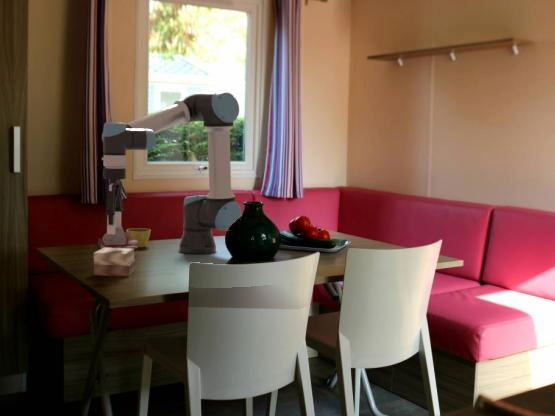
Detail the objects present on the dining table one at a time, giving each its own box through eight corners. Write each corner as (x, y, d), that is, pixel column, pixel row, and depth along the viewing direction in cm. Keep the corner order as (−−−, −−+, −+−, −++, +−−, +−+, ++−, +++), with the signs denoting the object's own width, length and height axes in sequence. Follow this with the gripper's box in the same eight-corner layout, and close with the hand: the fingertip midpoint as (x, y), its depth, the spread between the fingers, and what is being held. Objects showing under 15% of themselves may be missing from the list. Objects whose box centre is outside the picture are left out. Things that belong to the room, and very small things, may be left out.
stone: (100, 245, 248) (100, 228, 247) (107, 241, 258) (107, 225, 257) (124, 246, 248) (124, 229, 247) (130, 241, 258) (130, 225, 257)
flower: (145, 251, 280) (140, 226, 280) (108, 258, 272) (103, 233, 273) (133, 255, 293) (128, 231, 293) (98, 263, 285) (92, 238, 286)
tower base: (135, 270, 260) (135, 259, 260) (129, 277, 248) (129, 265, 248) (102, 269, 260) (102, 258, 260) (93, 276, 248) (93, 265, 248)
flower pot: (130, 244, 312) (131, 227, 311) (153, 245, 310) (153, 228, 309) (122, 248, 302) (122, 230, 301) (146, 249, 300) (146, 232, 300)
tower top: (134, 259, 259) (134, 248, 259) (125, 265, 248) (125, 254, 248) (103, 258, 260) (103, 247, 259) (93, 264, 249) (93, 252, 248)
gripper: (110, 165, 261) (110, 227, 263) (96, 169, 239) (96, 236, 241) (131, 165, 261) (130, 227, 264) (119, 169, 239) (118, 237, 242)
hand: (114, 231), depth 252 cm, fingers closed on stone, 9 cm apart
